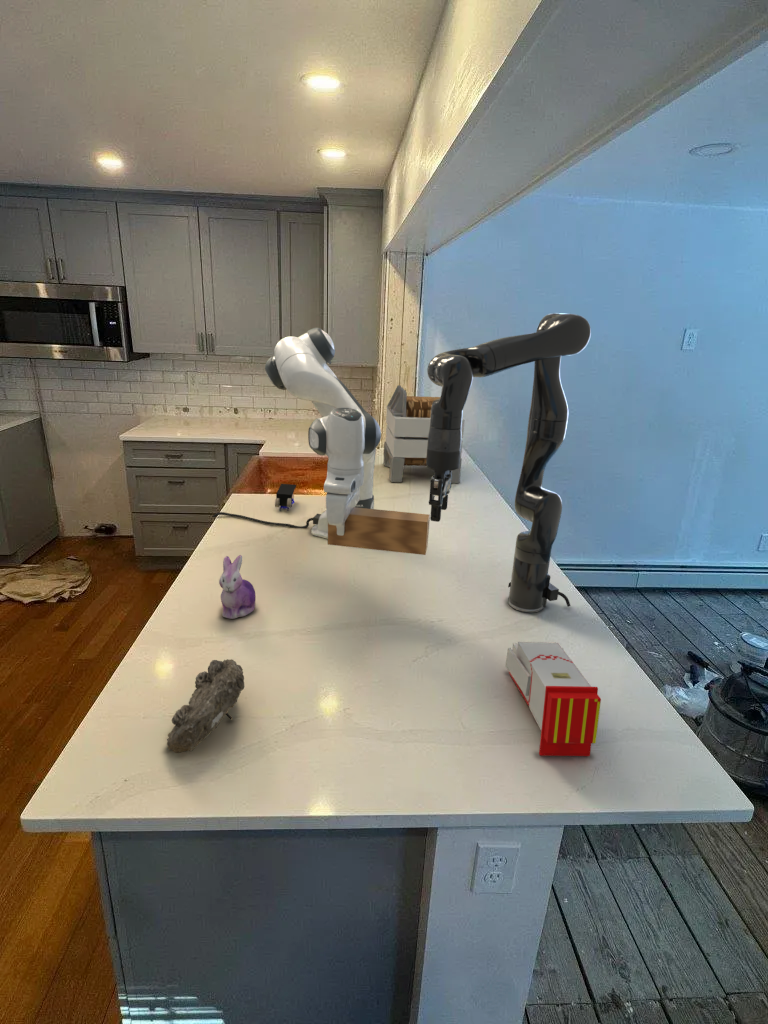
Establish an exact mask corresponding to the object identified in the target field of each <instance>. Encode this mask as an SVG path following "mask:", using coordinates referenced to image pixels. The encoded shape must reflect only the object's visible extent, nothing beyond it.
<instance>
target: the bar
mask: <svg viewBox="0 0 768 1024" xmlns="http://www.w3.org/2000/svg"><path fill="white" fill-rule="evenodd" d="M430 516H431V514H429V513H428V514H427V513H417V512H406V511H397V510H396V511H395V510H386V509H377V508H374V509H367V508H356V507H354V508H353V510H352V511H351V512H350V514H349V516H348V518H347V519H346V521H345V534H344V535H343V536H341V535H337V528H336V525H329V524H328V539H327V545H329V546H338V547H346V548H347V547H348V548H356V549H366V550H374V551H384V552H393V553H403V554H411V555H421V556H426V554H427V551H428V546H429V536H430V535H429V534H430V533H429V532H430V521H431V520H430Z"/></svg>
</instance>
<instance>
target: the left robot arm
mask: <svg viewBox="0 0 768 1024" xmlns="http://www.w3.org/2000/svg"><path fill="white" fill-rule="evenodd" d="M335 353H336V349H335V344H334V341H333V339H332V337H331V336H330V335H329V333H327V332H326V331H325V330H323V329H322V328H320V327H313V328H311V329H308V330H307V331H306V332H304V333H303V334H301V335H300V336H298V337H297V336H286V337H283V338H281V339H280V340H279V341H278V342H277V343H276V345H275V347H274V351H273V354H274V355H271V356H270V357H269V358H268V359H267V361H266V362H265V366H264V370H265V373H266V376H267V378H268V380H269V382H270V383H271V384H272V385H273V386H274V387H276V388H277V389H278V390H282V391H286V390H287V391H288V392H289V393H290V395H292V396H293V397H294V398H296V399H299V400H303V401H309V402H311V403H312V404H313V406H314V407H315V409H316V410H317V412H318V413H319V414H320V415H319V416H321V417H318V418H315V419H314V420H313V421H312V422H311V424H310V425H309V428H308V431H307V432H308V433H307V437H308V438H307V439H308V446H309V448H310V449H311V450H312V451H313V452H314V453H315V454H317V455H319V456H324V457H327V459H328V460H327V464H326V465H327V466H326V467H327V469H326V470H327V471H326V478H325V481H324V484H323V492H324V493H326V494H325V510H323V512H321V513H316V514H315V515H314V516H313V517H309V518H307V520H306V521H305V523H306V524H305V525H303V526H299V525H294V524H290V523H283V522H282V523H281V522H273V521H267V520H263V519H257V518H254V517H251V516H246V515H241V514H236V513H229V512H224V511H220V512H216V513H214V514H213V515H212V518H217V517H218V516H227V517H234V518H239V519H243V520H248V521H252V522H256V523H260V524H264V525H270V526H276V527H277V526H278V527H288V528H293V529H307V528H309V526H310V522H311V521H312V525H313V526H312V528H311V530H310V533H311V536H315V537H319V538H323V539H326V540H328V524H329V525H336V528H337V535H341V536H343V535H344V534H345V521H346V519H347V518H348V516H349V514H350V512H351V511H352V510H353V508H354V507H356V508H367V509H375V496H374V476H375V475H374V474H375V473H374V472H375V463H376V452H377V447H378V446H379V444H380V442H381V439H382V430H381V427H380V424H379V422H378V421H377V420H376V419H375V417H373V416H372V415H371V414H370V413H369V412H367V411H366V409H364V407H363V406H362V405H361V403H360V402H359V401H358V400H357V398H356V397H355V396H354V395H353V394H352V392H351V391H350V390H349V389H348V388H347V386H346V385H345V383H344V382H343V381H342V380H341V379H339V378H338V377H337V375H336V374H335V373H334V371H333V370H332V369H331V367H330V366H329V365H331V364H332V363H333V362H332V360H333V359H334V357H335ZM328 364H329V365H328Z"/></svg>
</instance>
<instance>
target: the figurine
mask: <svg viewBox="0 0 768 1024" xmlns="http://www.w3.org/2000/svg"><path fill="white" fill-rule="evenodd" d="M222 560H223V561H222V571H223V572H222V573H221V575H220V578H219V579H218V585H219V587H220V588H221V589H222V591H221V593H220V602H221V605H222V614H221V615H222V617H223V618H226V619H237V618H241V617H245V616H247V615H249V614H251V613H253V612H254V611H255V607H256V590H255V588H254V586H253V585H254V584H252V583H251V582H250V581H249V580H247V579H243V577H242V575H241V573H240V570H241V568H242V564H243V555H241V554H239V555H237V557H236V558H234V560H233V562H232V561H231V558H230V556H228V555H226V556H224V557H223V559H222Z"/></svg>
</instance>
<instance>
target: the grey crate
mask: <svg viewBox="0 0 768 1024" xmlns="http://www.w3.org/2000/svg"><path fill="white" fill-rule="evenodd" d="M442 390H443V387H442V386H441V392H440V393H441V394H442ZM407 394H408V393H407V390H406V389H404V388H403V387H402V385H399V384H398V385H397V386H396V388H395V390H394V392H393V394H392V395H391V398H390V400H389V402H388V404H387V405H386V413H385V414H386V415H385V423H386V428H385V438H384V442H383V466H384V467H388V468H389V475H388V476H389V477H388V478H389V480H390V482H391V483H402V482H403V475H404V469H405V466H406V467H407V466H411V467H412V466H413V467H415V466H416V467H417V466H418V467H427V465H426V458H427V443H428V433H429V428H430V417H431V406H432V403H433V401H435V400H436V399H440V397H441V396H415V395H414V396H413V395H412V396H411V395H407ZM441 394H440V395H441ZM461 428H462V439H463V438H464V431H465V430H464V429H465V419H464V418H462V427H461ZM463 442H464V441H463V440H462V443H461V454H460V465H459V468H458V469H456V470H453V471H452V478H451V484H455V483H456V484H459V483H461V472H462V461H463V460H462V453H463Z"/></svg>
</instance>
